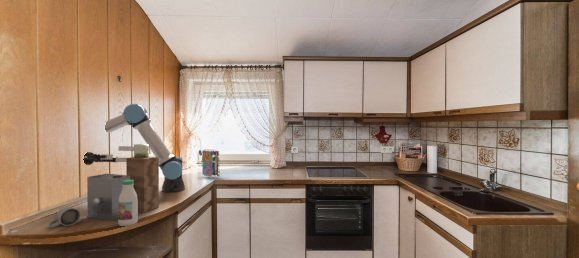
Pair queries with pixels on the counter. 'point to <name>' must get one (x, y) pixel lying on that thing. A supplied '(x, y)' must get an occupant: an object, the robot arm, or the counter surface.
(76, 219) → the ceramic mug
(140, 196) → the walnut stand
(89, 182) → the box
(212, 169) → the box
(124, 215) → the milk bottle
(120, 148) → the spout can
